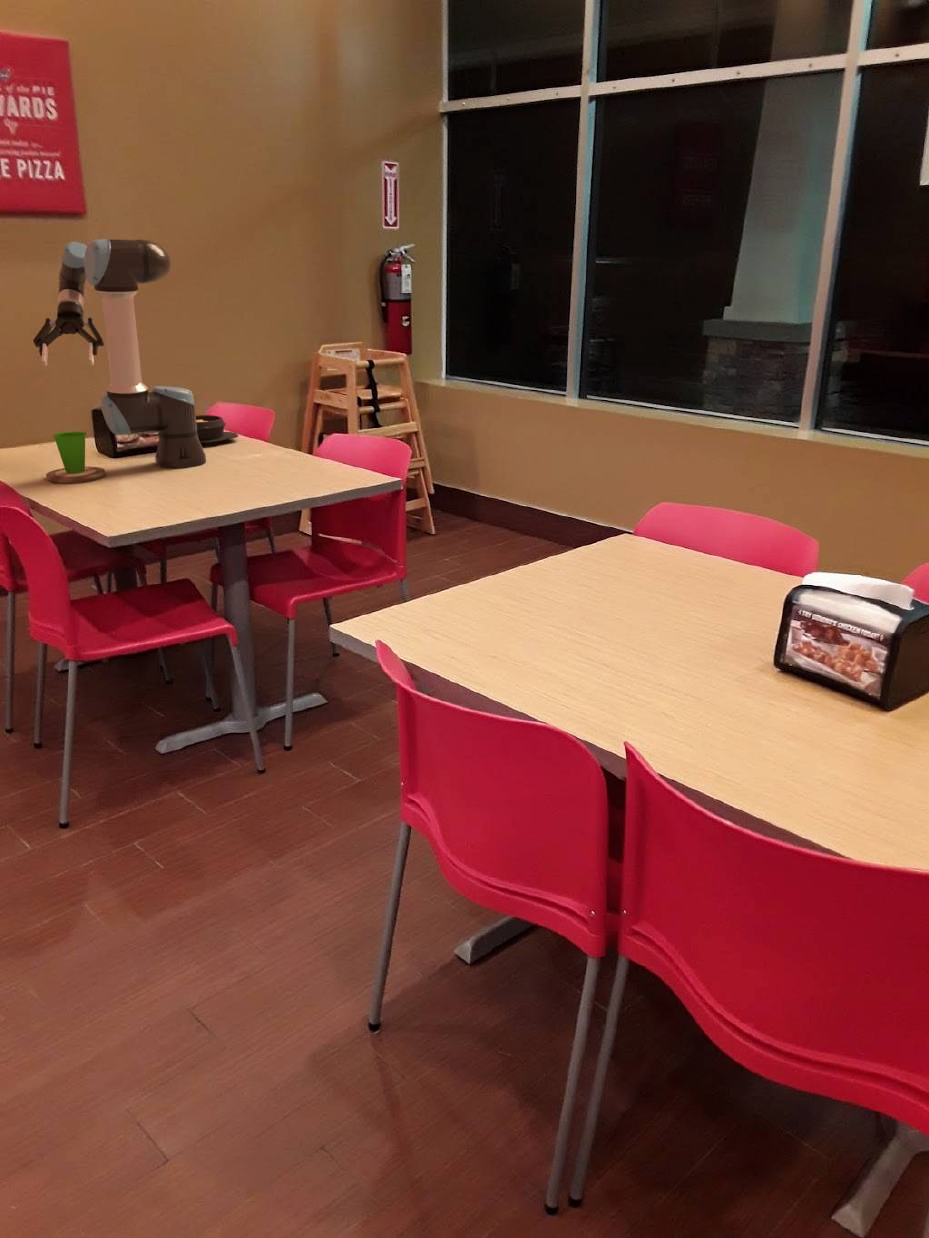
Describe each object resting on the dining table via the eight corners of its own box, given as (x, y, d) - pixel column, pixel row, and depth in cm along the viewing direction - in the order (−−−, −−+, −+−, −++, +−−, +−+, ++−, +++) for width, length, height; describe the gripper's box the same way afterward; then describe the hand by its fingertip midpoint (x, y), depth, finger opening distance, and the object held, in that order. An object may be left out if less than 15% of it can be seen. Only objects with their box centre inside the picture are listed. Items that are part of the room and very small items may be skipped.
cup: (97, 468, 278) (91, 431, 274) (82, 475, 269) (76, 437, 265) (68, 468, 279) (62, 431, 274) (53, 475, 270) (46, 437, 266)
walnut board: (117, 473, 279) (116, 468, 278) (79, 485, 265) (78, 480, 264) (73, 469, 284) (72, 464, 283) (34, 481, 270) (33, 475, 269)
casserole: (172, 451, 310) (169, 426, 307) (158, 442, 325) (155, 417, 321) (246, 444, 321) (244, 419, 318) (229, 435, 336) (227, 411, 333)
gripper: (114, 316, 301) (113, 370, 292) (32, 317, 296) (28, 371, 288) (109, 299, 294) (107, 354, 285) (24, 300, 290) (20, 355, 281)
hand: (67, 363), depth 287 cm, fingers open, 13 cm apart
